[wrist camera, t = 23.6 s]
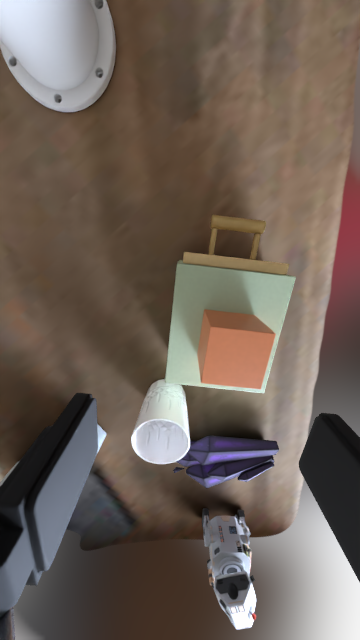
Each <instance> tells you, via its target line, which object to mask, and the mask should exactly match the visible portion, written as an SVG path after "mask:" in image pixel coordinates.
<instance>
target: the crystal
mask: <svg viewBox="0 0 360 640" xmlns="http://www.w3.org/2000/svg"><path fill="white" fill-rule="evenodd" d="M278 450H279V448H278V445H277V442H276V441H268V440H257V439H245V438H234V437H222V436H211V435H209V436H206V437H204V438H202V439H200V440H198V441H190V447H189V450H188V452H187V453H186V454H185V455H184V456H183V457H182V458H181V459H179V460H178V461H176V462H177V463H179V464H181V465H183V466H185V467H188V466H190V467H189V468H188V469H186V473H187V475H189V476H190V477H191V478H193V479H194V480H196V481H197V482H198V483H200V484H201V485H203V486H204V487H205V488H209V487H212V486H214V485H217V484H220V483H222V482H225V481H227V480H230V479H233V478H235V477H238V476H239V477H238V480H241V481H245V482H247V481H249V480H251V479H252V478H254V477H256V476H257V475H259V474H261V473H263V472H264V471H266V470H268V469H270V468H271V467H273V466H274V459H273V456H272V455H276V453H277V452H278ZM182 469H185V468H179V467H176V468H175V469H174V470H173V471H174V473H176V472H178V471H180V470H182Z"/></svg>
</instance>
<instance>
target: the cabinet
mask: <svg viewBox="0 0 360 640" xmlns="http://www.w3.org/2000/svg"><path fill="white" fill-rule="evenodd" d="M295 278H296V277H294V276H290V275H280V274H271V273H263V272H254V271H245V270H237V269H228V268H219V267H211V266H202V265H194V264H185V263H183V260H179V261H178V263H177V269H176V278H175V288H174V298H173V307H172V317H171V327H170V336H169V346H168V356H167V365H166V375H165V383H172V384H182V385H192V386H201V387H211V388H220V389H230V390H239V391H249V392H259V393H264V390H265V386H266V383H267V379H268V376H269V372H270V368H271V365H272V361H273V358H274V354H275V350H276V347H277V343H278V340H279V336H280V332H281V329H282V325H283V321H284V318H285V314H286V311H287V307H288V303H289V300H290V296H291V293H292V289H293V285H294V282H295ZM204 309H206V310H215V311H224V312H233V313H242V314H250V315H255V316H256V317H257V318H259V319H260V320H261V321H262V322H263V323H264V324H265V325H267V326H268V327H269V328H270V329H271V330H272V331H273V332H274V333H276V336H275V339H274V343H273V347H272V350H271V354H270V358H269V361H268V365H267V369H266V372H265V376H264V380H263V383H262V387H261V389H251V388H242V387H232V386H223V385H213V384H204V383H201V379H200V372H199V364H198V357H197V353H198V347H199V340H200V334H201V327H202V320H203V314H204Z"/></svg>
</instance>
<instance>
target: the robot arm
mask: <svg viewBox="0 0 360 640" xmlns="http://www.w3.org/2000/svg"><path fill="white" fill-rule="evenodd" d="M0 48H1V51H2V54H3V57H4V59H5V61H6V63H7V65H8V67H9V69H10V71H11V72H12V74H13V75H14V77H15V78H16V80H17V81H18V82H19V84H20V85H21V86H22V87H23V88H24V89H25V90H26V91H27V92H28V93H29V94H30V95H31V96H32V97H33V98H34V99H35V100H36V101H38V102H39V103H41V104H42V105H44V106H46V107H48V108H50V109H53V110H55V111H60V112H76V111H79V110H83V109H85V108H87V107H88V106H90V105H92V104H93V103H94V102H95V101H96V100H97V99H98V98H99V97H100V96H101V95H102V93H103V92H104V90H105V89H106V87H107V85H108V83H109V81H110V78H111V76H112V72H113V68H114V64H115V55H116V40H115V31H114V26H113V21H112V17H111V14H110V10H109V7H108V4H107V1H106V0H0ZM97 451H98V430H97V406H96V398H92V394H84V393H76V394H75V395H74V397H73V398H72V400H71V401H70V402H69V404H68V405H67V406H66V408H65V409H64V411H63V412H62V413H61V415H60V416H59V417H58V419H57V420H56V422H55V423H54V424H53V426H48V427H46V428H45V429H44V430H43V431H42V432H41V434H40V435H39V436H38V438H37V439H36V440H35V442H34V443H33V444H32V445H31V447H30V448H29V449H28V451H27V452H26V453H25V455H24V456H23V457H22V459H21V460H20V461H19V463H18V464H17V465H16V467H15V468H14V469H13V470H12V472H11V473H10V474H9V476H8V477H7V478H6V480H5V481H4V482H3V484H2V485H1V486H0V640H15V629H14V613H13V606H14V605H15V604H16V603H17V601H18V599H19V597H20V595H21V593H22V590H23V588H24V586H25V585H37V583H38V581H39V579H40V577H41V574H42V572H43V571H47V570H48V569H49V568H50V566H51V564H52V562H53V560H54V557H55V554H56V552H57V550H58V547H59V545H60V542H61V540H62V537H63V535H64V533H65V530H66V528H67V526H68V523H69V521H70V518H71V516H72V513H73V511H74V509H75V506H76V504H77V501H78V499H79V496H80V494H81V491H82V489H83V487H84V484H85V482H86V479H87V477H88V474H89V472H90V470H91V467H92V465H93V462H94V460H95V457H96V455H97ZM299 468H300V471H301V473H302V475H303V477H304V479H305V481H306V482H307V484H308V486H309V488H310V490H311V492H312V493H313V496H314V497H315V499H316V501H317V503H318V505H319V507H320V509H321V510H322V512H323V514H324V516H325V518H326V520H327V522H328V524H329V526H330V527H331V529H332V531H333V533H334V535H335V537H336V539H337V541H338V542H339V544H340V546H341V548H342V550H343V552H344V554H345V556H346V557H347V559H348V561H349V563H350V565H351V567H352V569H353V571H354V572H355V574H356V576H357V578H358V580H359V581H360V437H358V435H357V434H356V433H355V432H354V431H353V430H352V429H351V428H350V427H349V426H348V425H347V424H346V423H345V422H344V420H342V418H341V417H340V416H338V415H336V414H327V413H321V414H320V415H319V416H318V417H316V418H315V421H314V424H313V426H312V429H311V432H310V434H309V437H308V439H307V442H306V445H305V447H304V450H303V453H302V455H301V458H300V460H299Z"/></svg>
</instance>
